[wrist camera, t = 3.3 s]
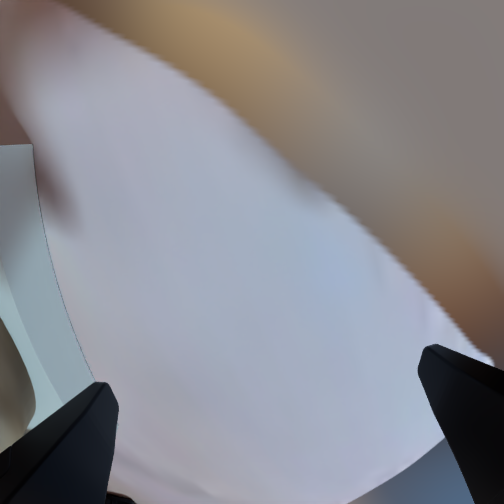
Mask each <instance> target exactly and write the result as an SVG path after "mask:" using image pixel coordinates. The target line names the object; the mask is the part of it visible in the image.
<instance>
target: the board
mask: <svg viewBox="0 0 504 504" xmlns="http://www.w3.org/2000/svg"><path fill="white" fill-rule="evenodd" d="M0 318H1V319H2V321H3V323H4V325H5V327H6V328H7V330H8V332H9V334H10V335H11V337H12V339H13V341H14V343H15V345H16V347H17V349H18V351H19V353H20V355H21V357H22V360H23V362H24V364H25V366H26V368H27V371H28V374H29V376H30V379H31V382H32V385H33V389H34V393H35V399H36V410H35V414H34V416H33V418H32V420H31V421H30V423H29V425H28V427H27V429H26V431H25V432H24V434H23V436H24V435H25V434H26V433H28V432H29V431H30V430H32V429H33V428H34V427H36V426H37V425H38V424H40V423H41V422H42V421H44V420H45V419H46V418H47V417H49V416H50V415H51V414H53V413H54V412H55V411H57V410H58V409H59V408H61V407H62V406H63V405H65V404H66V403H67V402H68V401H70V400H71V399H72V398H74V397H75V396H76V395H78V394H79V393H80V392H81V391H83V390H84V389H85V388H87V387H88V386H89V385H91V384H92V383H93V382H95V380H94V378H93V376H92V374H91V372H90V370H89V367H88V365H87V363H86V361H85V358H84V356H83V354H82V351H81V349H80V346H79V344H78V341H77V339H76V336H75V334H74V331H73V329H72V326H71V323H70V320H69V318H68V315H67V312H66V309H65V306H64V303H63V300H62V297H61V294H60V291H59V287H58V284H57V281H56V277H55V274H54V270H53V266H52V262H51V258H50V254H49V250H48V246H47V242H46V237H45V233H44V228H43V223H42V217H41V212H40V206H39V200H38V193H37V186H36V178H35V169H34V158H33V144H20V145H1V146H0ZM117 429H118V424H117ZM117 429H116V432H117Z"/></svg>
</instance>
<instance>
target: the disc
mask: <svg viewBox="0 0 504 504" xmlns="http://www.w3.org/2000/svg"><path fill="white" fill-rule="evenodd" d="M35 410H36V399H35V393H34V389H33V385H32V382H31V379H30V376H29V374H28V371H27V368H26V366H25V364H24V362H23V360H22V357H21V355H20V353H19V351H18V349H17V347H16V345H15V343H14V341H13V339H12V337H11V335H10V334H9V332H8V330H7V328H6V327H5V325H4V323H3V321H2V319H1V318H0V453H1V452H3V451H4V450H5V449H6V448H8V447H9V446H12V444H13V443H14V442H16V441H17V440H18V439H20V438H21V437H22V436H23V434H24V432H25V431H26V429H27V427H28V425H29V423H30V421H31V420H32V418H33V416H34V414H35Z"/></svg>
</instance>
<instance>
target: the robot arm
mask: <svg viewBox="0 0 504 504" xmlns="http://www.w3.org/2000/svg"><path fill="white" fill-rule="evenodd" d="M418 375H419V378H420V380H421V383H422V385H423V388H424V390H425V393H426V395H427V398H428V401H429V403H430V406H431V408H432V411H433V413H434V415H435V417H436V419H437V421H438V423H439V425H440V427H441V429H442V431H443V433H444V435H445V438H446V440H447V442H448V444H449V446H450V448H451V450H452V452H453V454H454V456H455V459H456V461H457V463H458V465H459V468H460V470H461V472H462V474H463V476H464V479H465V481H466V483H467V486H468V488H469V491H470V493H471V496H472V498H473V501H474V503H475V504H504V371H502V370H500V369H498V368H495V367H493V366H490V365H488V364H485V363H483V362H480V361H478V360H475V359H473V358H470V357H468V356H466V355H463V354H461V353H458V352H456V351H453V350H451V349H448V348H446V347H443V346H441V345H439V344H433V345H429V346H426V347H425V348H424V349H423V352H422V355H421V359H420V362H419V365H418ZM118 412H119V406H118V402H117V400H116V398H115V396H114V394H113V392H112V389H111V387H110V386H109V384H108V383H106V382H93V383H92V384H91V385H89V386H88V387H87V388H85V389H84V390H83V391H81V392H80V393H79V394H78V395H76V396H75V397H74V398H72V399H71V400H70V401H68V402H67V403H66V404H65V405H63V406H62V407H61V408H59V409H58V410H57V411H55V412H54V413H53V414H51V415H50V416H49V417H47V418H46V419H45V420H44V421H42V422H41V423H40V424H38V425H37V426H36V427H34V428H33V429H32V430H30V431H29V432H28V433H26V434H25V435H24V436H22V437H21V438H20V439H18V440H17V441H16V442H14V443H13V444H12V446H9V447H8V448H6V449H5V450H4V451H3V452H1V453H0V504H135V503H134V502H133V501H131V500H129V499H125V498H119V497H114V496H109V495H106V492H107V487H108V481H109V476H110V471H111V466H112V461H113V456H114V448H115V439H116V429H117V420H118Z"/></svg>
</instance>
